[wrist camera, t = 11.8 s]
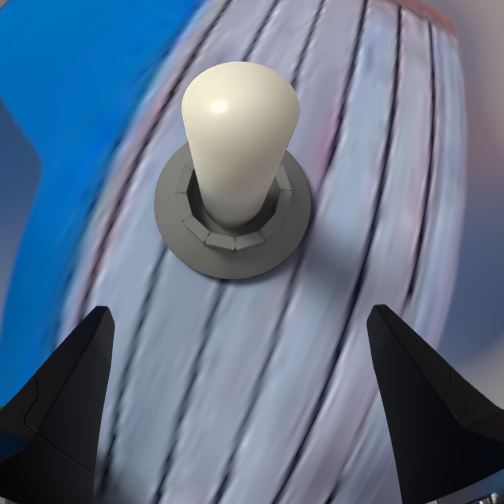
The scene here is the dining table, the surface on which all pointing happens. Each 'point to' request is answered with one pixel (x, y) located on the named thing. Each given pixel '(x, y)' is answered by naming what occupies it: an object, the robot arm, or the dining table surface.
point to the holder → (223, 239)
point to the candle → (238, 136)
